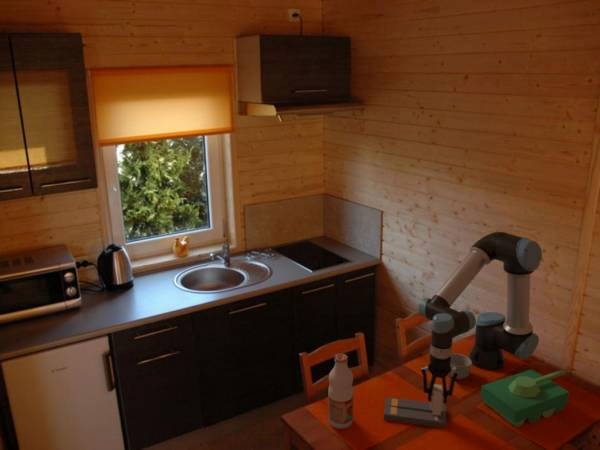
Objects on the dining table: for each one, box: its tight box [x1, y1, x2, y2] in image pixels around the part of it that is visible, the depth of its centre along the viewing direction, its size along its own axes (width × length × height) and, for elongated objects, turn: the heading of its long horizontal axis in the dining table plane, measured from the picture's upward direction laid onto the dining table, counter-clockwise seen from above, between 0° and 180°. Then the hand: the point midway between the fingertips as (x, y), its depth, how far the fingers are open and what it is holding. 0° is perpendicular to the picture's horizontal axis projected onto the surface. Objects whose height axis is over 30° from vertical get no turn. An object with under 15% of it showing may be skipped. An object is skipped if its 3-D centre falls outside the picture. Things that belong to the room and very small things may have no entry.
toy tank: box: [480, 368, 570, 428], centre depth 212 cm, size 18×12×35 cm
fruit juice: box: [327, 353, 354, 430], centre depth 201 cm, size 9×9×28 cm
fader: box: [432, 383, 443, 416], centre depth 204 cm, size 3×5×10 cm, turn 167°
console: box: [383, 396, 447, 429], centre depth 208 cm, size 23×11×3 cm, turn 77°
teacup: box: [447, 352, 473, 380], centre depth 231 cm, size 14×11×8 cm
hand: (436, 408), depth 205 cm, fingers closed on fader, 3 cm apart
